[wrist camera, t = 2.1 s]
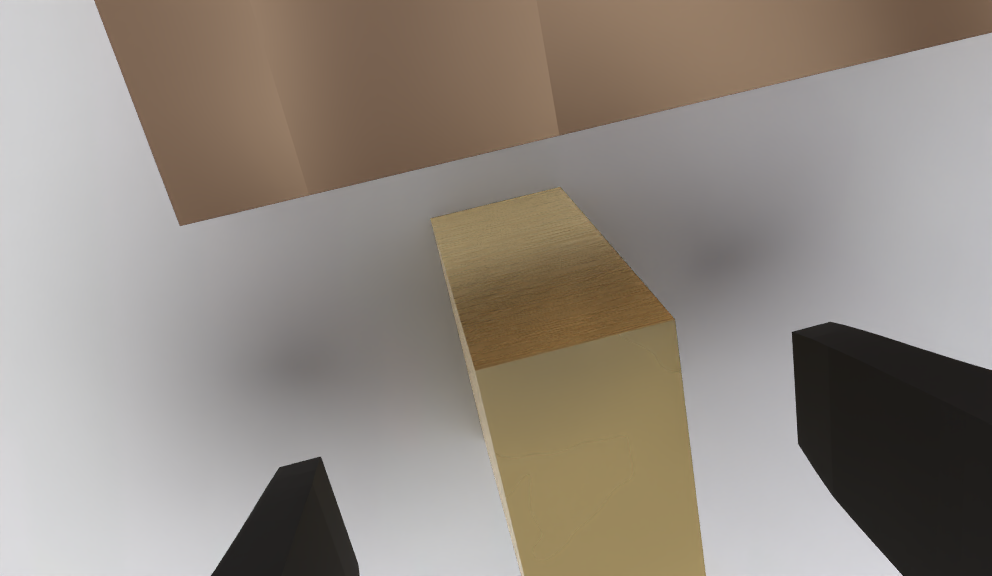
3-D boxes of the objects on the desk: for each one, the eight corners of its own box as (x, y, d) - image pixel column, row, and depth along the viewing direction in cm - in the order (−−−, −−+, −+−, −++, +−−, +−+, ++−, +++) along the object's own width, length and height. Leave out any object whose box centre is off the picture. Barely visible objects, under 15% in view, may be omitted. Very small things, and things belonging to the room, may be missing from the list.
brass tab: (559, 186, 15) (674, 319, 10) (598, 408, 17) (711, 619, 12) (430, 218, 15) (475, 370, 10) (484, 438, 17) (546, 666, 12)
